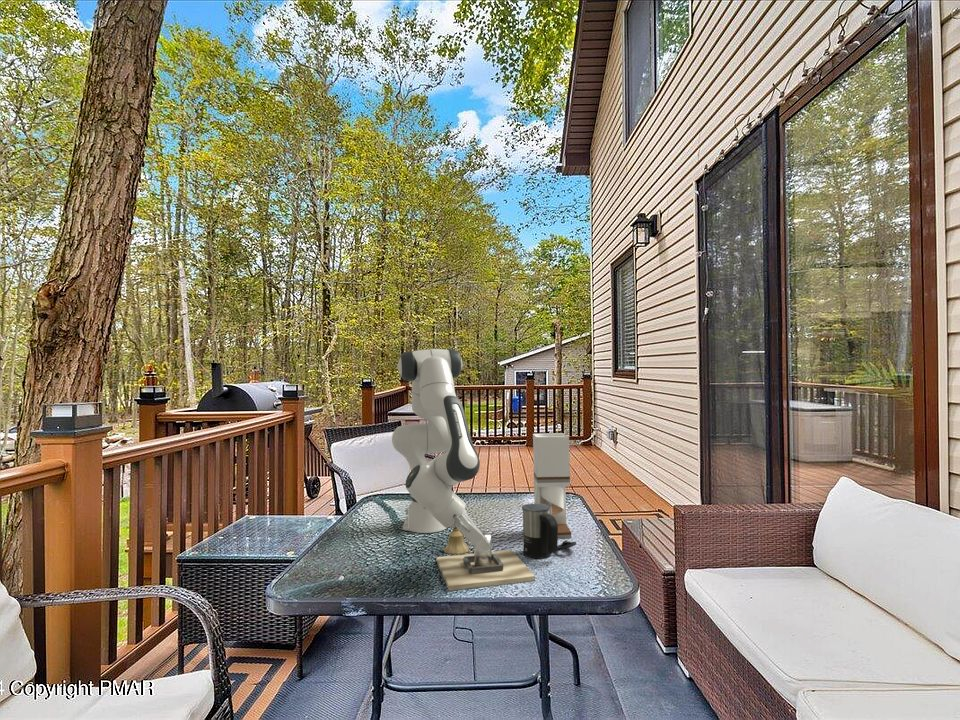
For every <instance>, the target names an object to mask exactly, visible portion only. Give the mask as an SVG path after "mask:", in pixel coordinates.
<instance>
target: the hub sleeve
mask: <svg viewBox="0 0 960 720" xmlns="http://www.w3.org/2000/svg"><path fill="white" fill-rule="evenodd" d="M481 533H482V534H483V535H484V537H485V538H484V539H485V540H486V541H487V542H488V543H489V544H490V545H491V546H492V533H490V532H486V531H481ZM473 549H474V551H473V552H474V553H473V554H474V566H475V567H481V566H490V565H492V554H491V552H492V547H491V548H490V549H489V550H488V551H487V550H485V549H484V548H483V547H482V546H480V545H478V546H477V547H476V546H474V545H473Z"/></svg>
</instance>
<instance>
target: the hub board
mask: <svg viewBox="0 0 960 720" xmlns="http://www.w3.org/2000/svg"><path fill="white" fill-rule="evenodd" d="M491 554H492V565H490V566H481V567H475V566H474V553H464V554H458V555H448V556H447V555H446V556H436V563H437V566H438V568H439V570H440V573H441V575H442V579H443V580H444V583H445V584H446V587H447V589H448V591H456V590H467V589H468V590H469V589H476V588H483V587H484V588H485V587H493V586H502V585H509V584H517V583H523V582H525V583H526V582H532V581H534V582H535V581H536V575H535V574H534V573H533V572H532V571H531V570H530V568H529V567H528V566H526V565H527V564H525V563H524V562H523V561H522V560H521V558H520V557H519V556H518V555H517V554H516V553H515V552H514V551H513V550H512V549H505V550H495V551H491Z"/></svg>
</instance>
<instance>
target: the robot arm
mask: <svg viewBox="0 0 960 720" xmlns="http://www.w3.org/2000/svg"><path fill="white" fill-rule="evenodd" d="M397 369H398V373H399V375H400V378H402V380H404V381H406V382H411V410H412V411H413V413H414V414H415V415H416V416H418V417H419V418H421V419H423V420H425V421H427V423H409V424H404V425H400V426H397V427H396V428H395V429H394V430H393V433H392V435H391V442H392V447H393V449H395V451H397V452H398V454H401V455H402V456H403V457H404V458H405V460H406V461H407V463H408V465H409V468H410V471H409V473H408V474H407V476H406V480H405V484H404V485H405V488H406V491H407V492H408V494H410V496H411V497H410V498H411V502H410V504H409V506H407V508H406V507H405V515H407V516H406V517H405V520H404V523H403V525H402V529H401V530H403V531H406V532H408V531H409V532H413V533H418V534H430V533H431V534H432V533H438V532H441V531H445V530H446V529H447V528H452V529H453V528H455V527H457V529H458V530H459V532H461V533H462V534H463V537H464V538H466V540H468V541H469V542H470V543H471V544H472V545H473V547H474V546H476V547H477V546H478V545H480V546H482V547H483V548H484V549H485V550H487V551H488V550H489V549H490V548H491V549H492V544H491V545H490V544H489V543H488V542H487V541H486V540H485V539H484V538H485V537H484V535H483V534H482V533H481V532H482V531H481V530H480V529H479V527H478V526H477V525H476V524H475V522H474V521H473V520H472V519H471V518H470V515H468V511H467V509H466V507H467V504H466V502H464V500H462V498H460V497H459V496H458V495H457V494H456V492H454V491H453V487H454V485H458V484H459V483H462V482H463V483H464V482H466V481H469V480H473V479H474V478H475V477H476V476H477V474H478V473H479V471H480V466H481V463H480V458H479V455H478V452H477V450H476V448H475V446H474V444H473V441H472V436H471V433H470V429H469V426H468V421H467V417H466V413H465V409H464V406H463V404H462V402H461V400H460V398H459V397H457V393H456V389H455V383H454V379H456V378H459V376H460V375H461V374H462V369H463V358H462V356H461V354H460V352H459V351H458V350H456V349H451V348H448V349H443V348H430V349H419V350H413V351H412V350H407V351H404V352H402V353H401V354H400V356H399V359H398V363H397ZM430 453H441V454H440V455H438V456H436V457H435V458H432V459H431V460H428V459H427V458H426V457H425V455H426V454H430Z"/></svg>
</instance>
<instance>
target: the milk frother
mask: <svg viewBox="0 0 960 720" xmlns="http://www.w3.org/2000/svg"><path fill="white" fill-rule="evenodd" d="M550 508H551V507H550V506H549V505H546V504H537V503H535V504H534V503H527V504H524V505H521V509H522V529H523V531H522V532H523V534H522V535H523V536H522V537H523V549H522V554H523V556H525V557H527V558H530V559H531V558H532V559H545V558H548V557H551V556H552V554H555V553H557V552H558V551H559V552H560V551H562V550H565V551H567V550H568V549H570V548H572V547H574V546H577V542H576V541H568V540H564V541H562V543H560V544H558V541H559V540H558V525H557V521H556V519H555V518H554V517H553V516H552V515H550Z"/></svg>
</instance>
